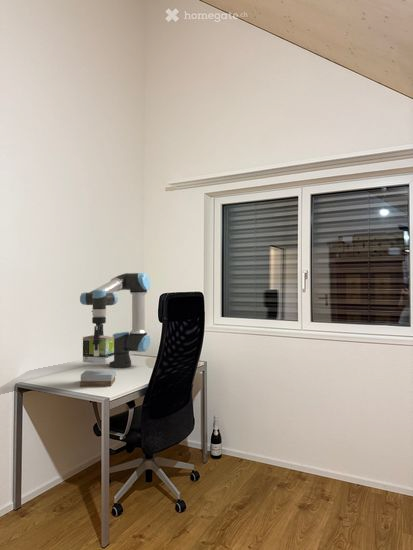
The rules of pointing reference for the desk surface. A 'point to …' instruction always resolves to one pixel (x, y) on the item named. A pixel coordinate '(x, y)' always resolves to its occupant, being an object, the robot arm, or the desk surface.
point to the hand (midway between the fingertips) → (98, 354)
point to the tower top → (98, 375)
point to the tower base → (96, 383)
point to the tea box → (104, 349)
